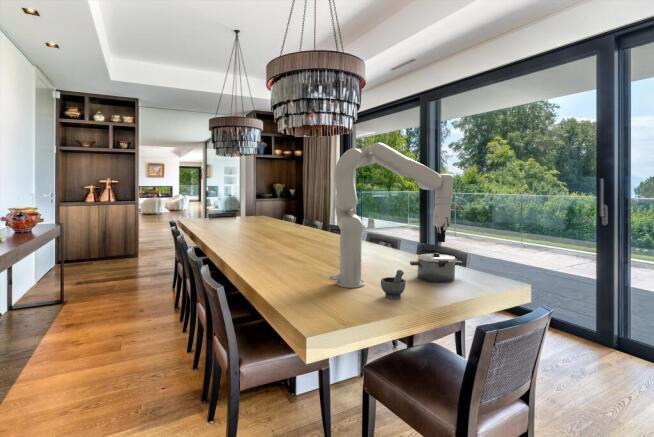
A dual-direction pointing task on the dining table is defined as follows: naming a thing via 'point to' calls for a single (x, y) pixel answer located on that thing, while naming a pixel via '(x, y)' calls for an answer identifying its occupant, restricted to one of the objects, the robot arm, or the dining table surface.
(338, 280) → the robot arm
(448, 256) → the pot lid
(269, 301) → the dining table surface
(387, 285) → the mortar and pestle
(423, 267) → the pot
